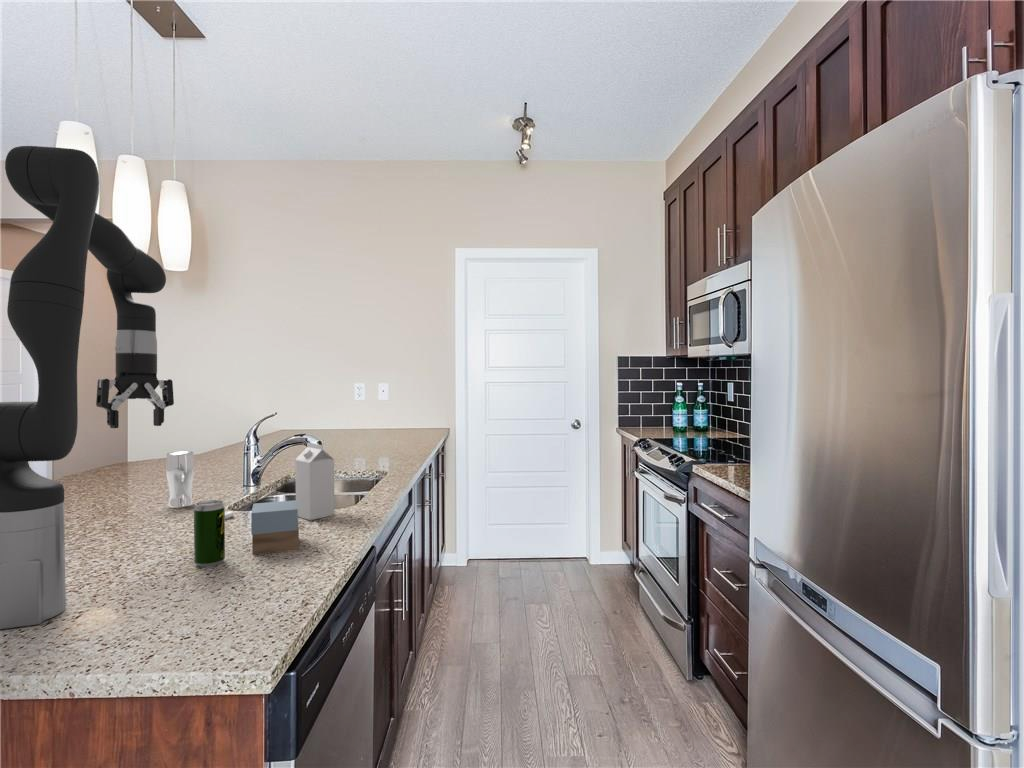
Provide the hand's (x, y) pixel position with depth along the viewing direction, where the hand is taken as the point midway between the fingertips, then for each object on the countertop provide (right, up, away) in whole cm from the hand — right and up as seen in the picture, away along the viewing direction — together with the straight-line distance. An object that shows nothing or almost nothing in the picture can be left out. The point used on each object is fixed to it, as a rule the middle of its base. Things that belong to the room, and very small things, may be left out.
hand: (136, 426), depth 121 cm
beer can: (+21, -26, -10) cm, 36 cm away
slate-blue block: (+30, -22, 0) cm, 37 cm away
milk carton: (+29, -26, +26) cm, 47 cm away
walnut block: (+30, -26, +1) cm, 40 cm away
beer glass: (-13, -25, +37) cm, 47 cm away
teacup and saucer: (+6, -26, +21) cm, 34 cm away
